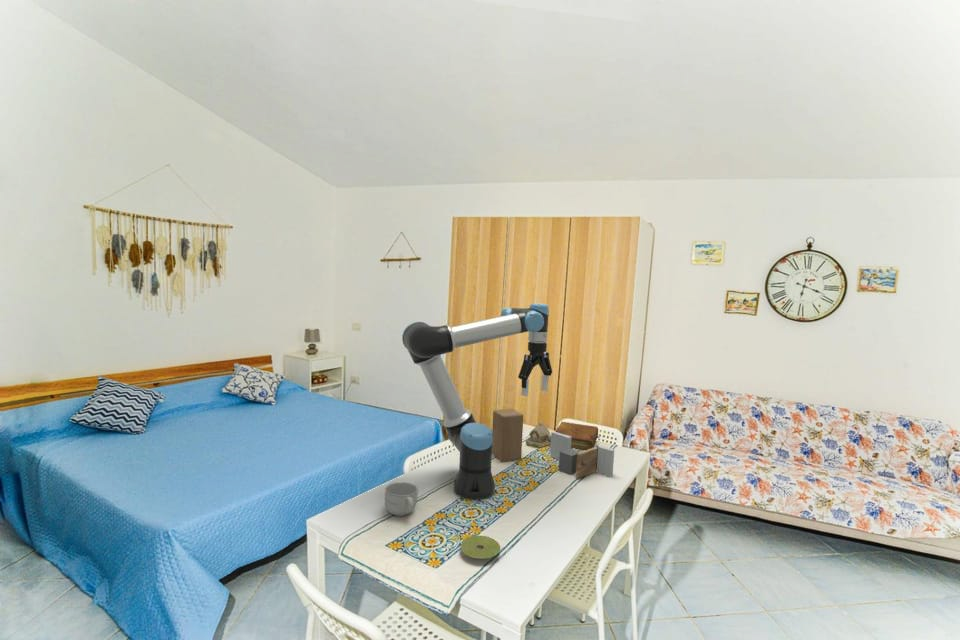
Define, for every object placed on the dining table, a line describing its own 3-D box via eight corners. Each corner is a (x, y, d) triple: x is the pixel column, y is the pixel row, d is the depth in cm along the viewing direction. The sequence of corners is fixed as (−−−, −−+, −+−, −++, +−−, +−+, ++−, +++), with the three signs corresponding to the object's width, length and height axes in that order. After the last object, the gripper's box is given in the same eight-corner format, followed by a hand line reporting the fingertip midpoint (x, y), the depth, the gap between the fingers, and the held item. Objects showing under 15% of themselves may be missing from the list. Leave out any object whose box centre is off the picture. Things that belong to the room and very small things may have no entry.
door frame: (609, 477, 185) (611, 450, 184) (549, 456, 205) (551, 432, 204) (612, 475, 187) (614, 449, 186) (552, 455, 206) (554, 431, 205)
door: (600, 471, 189) (601, 446, 189) (580, 479, 181) (582, 453, 180) (595, 469, 191) (596, 444, 190) (575, 477, 183) (577, 451, 182)
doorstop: (571, 475, 186) (572, 455, 185) (558, 470, 190) (559, 451, 189) (578, 471, 190) (580, 452, 190) (566, 466, 194) (567, 448, 194)
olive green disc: (487, 538, 138) (488, 531, 138) (507, 558, 128) (507, 551, 128) (453, 547, 132) (453, 540, 132) (471, 569, 123) (471, 562, 122)
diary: (592, 453, 213) (592, 441, 213) (552, 446, 220) (552, 434, 219) (597, 437, 235) (598, 426, 234) (561, 431, 241) (561, 421, 240)
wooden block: (490, 453, 205) (492, 410, 203) (510, 451, 209) (512, 408, 208) (501, 462, 196) (503, 416, 194) (521, 459, 200) (523, 414, 198)
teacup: (381, 505, 155) (382, 482, 154) (413, 501, 159) (414, 478, 158) (388, 526, 142) (389, 501, 141) (423, 521, 146) (424, 497, 145)
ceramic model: (536, 437, 230) (537, 417, 230) (556, 442, 224) (557, 422, 223) (521, 444, 219) (522, 423, 218) (542, 450, 213) (543, 429, 212)
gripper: (526, 345, 175) (523, 399, 177) (562, 340, 193) (559, 390, 195) (510, 342, 180) (508, 396, 182) (547, 338, 198) (544, 387, 200)
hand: (534, 393), depth 188 cm, fingers open, 13 cm apart
